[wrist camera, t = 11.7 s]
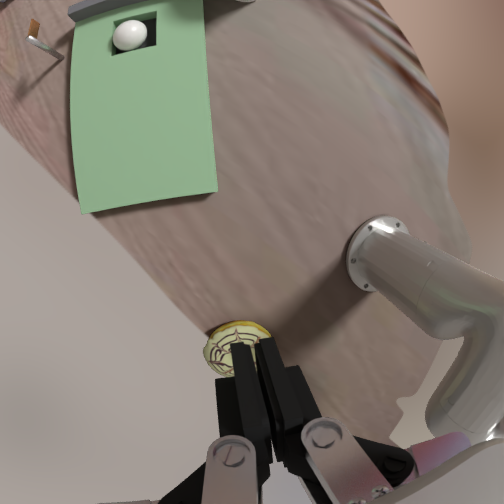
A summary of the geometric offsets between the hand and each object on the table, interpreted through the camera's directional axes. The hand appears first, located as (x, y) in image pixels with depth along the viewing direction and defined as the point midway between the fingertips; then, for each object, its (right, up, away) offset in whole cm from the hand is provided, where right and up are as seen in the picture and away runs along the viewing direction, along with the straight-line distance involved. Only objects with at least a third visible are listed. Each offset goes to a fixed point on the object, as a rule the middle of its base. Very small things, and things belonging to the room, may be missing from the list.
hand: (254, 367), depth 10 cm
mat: (-15, +25, +18) cm, 34 cm away
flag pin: (-27, +33, +13) cm, 45 cm away
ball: (-15, +32, +13) cm, 37 cm away
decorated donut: (-2, -10, +32) cm, 34 cm away
